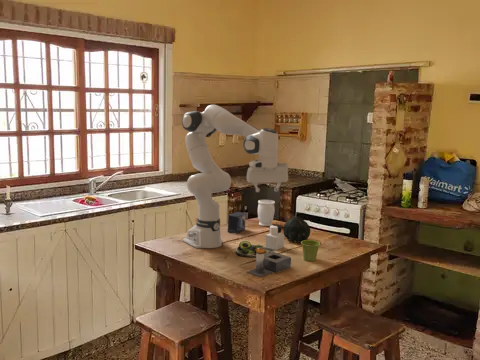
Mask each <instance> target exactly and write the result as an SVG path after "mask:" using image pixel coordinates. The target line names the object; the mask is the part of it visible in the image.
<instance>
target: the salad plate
mask: <svg viewBox="0 0 480 360" xmlns="http://www.w3.org/2000/svg"><path fill="white" fill-rule="evenodd" d="M258 247H262V248H264V249H265V251H264V255H265V254H268V253H271V252H275V251H276V250H274V249H270V248H267V247H266V245H265V246H264V245H261V244H256V245H254V244H252V242H250V241H248V240H242V241H240V242H239V244H238V247H237V248H236V250H235V254H236V255H237V256H240V257H243V258H244V257H245V258H256V248H258Z"/></svg>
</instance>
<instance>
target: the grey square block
mask: <svg viewBox="0 0 480 360" xmlns="http://www.w3.org/2000/svg"><path fill="white" fill-rule="evenodd" d="M290 268H292V257H291V256H289V255H285V254H282V253H279V252H275V251H272V252H269V253H268V254H265V255H264V269H265V270H268V271H270V272H272V273H274V274H277V273H280V272H283V271H285V270H288V269H290Z"/></svg>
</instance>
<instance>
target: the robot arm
mask: <svg viewBox="0 0 480 360" xmlns="http://www.w3.org/2000/svg"><path fill="white" fill-rule="evenodd" d="M181 125H182V128H183V129H184V130H186V131H187V132H188V133H186V135H185V137H184V140H185V146H186V147H185V148H186V151H187V154H188V157H189V161H190V163H191V165H192V167H193V168H194V169H196V170H198V171H199V172H200V173H196V174H193V175H189V177H188V179H187V181H186V188H187V190H188V191H189V193H190V194H192V195H193V197H195V200H196V201H197V205H198V217H197V218H196V219H194V220H195V222H196V224H194V225H193V226H192V227H191V228H189V229H188V230H187V235H186V237H184V238H182V242H184V243H185V244H187V245H190V246H191V247H193V248H195V249H201V248H202V249H214V248H215V249H216V248H219V247H221V246H222V244H223V243H222V241H223V239H222V237H221V227H220V226H221V219H220V207H221V206H220V204H219V202H218V201H217V200H215V199H213V195H212V194H214V193H216V194H217V193H222V192H225V191H227V190H229V189H230V188H231V186H232V178H231V176H230V174H229V172H226V171H225V170H223V169H221V167H219V166H218V165H217V163H216V162H215V161H214V159H213V157H212V154H211V152H210V149H209V146H208V144H207V142H206V138H210V137H211V136H212V135H214V133H216V132H220V133H221V134H225V135H239V136H242V137H243V136H244V137H245V138H244V139H243V149H244V151H245V152H246V153H247V154H249V155H258V158H257V159H254V160H251V161H249V162H248V164H249V165H248V166H249V167H248V168H247V171H246V181H247V183H249V184H253V187H254V188H255V193H260V191H261V189H260V187H258V185H259V184H260V183H261V184H262V183H263V184H264V183H265V184H266V183H276V187H275V186H274V192H276V193H277V192H279V188H280V186H281V185H282V183H287V182H288V181H289V164H288V163H286V162H278V161H279V158H278V157H279V156H278V149H279V134H278V131H277V130H275V129H273V128H269V127H268V128H267V127H266V128H265V127H264V128H262V129H258V128H257V127H255V126H254V125H252V124H249V122H246V121H244V120H242V119H241V118H239V117H238V116H236V115H234V114H233V113H232V112H230V111H228V110H227V109H225V108H223V107H222V106H219V105H218V104H210V105H207V106H206V108H205V109H204V111H202V112H201V111H199V110H197V111H196V110H195V111H194V110H193V111H188V112H185V113H184V114H183V116H182V119H181Z"/></svg>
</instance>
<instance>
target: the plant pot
mask: <svg viewBox="0 0 480 360" xmlns="http://www.w3.org/2000/svg"><path fill="white" fill-rule="evenodd" d="M300 244H301V247H302V258H303V260H304V261H306V262H315V261H316V260H317V256H318V255H317V254H318V250H319V247H320V246H321V243H320V241H317V240H314V239H306V240H304V241H302V242H300Z"/></svg>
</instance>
